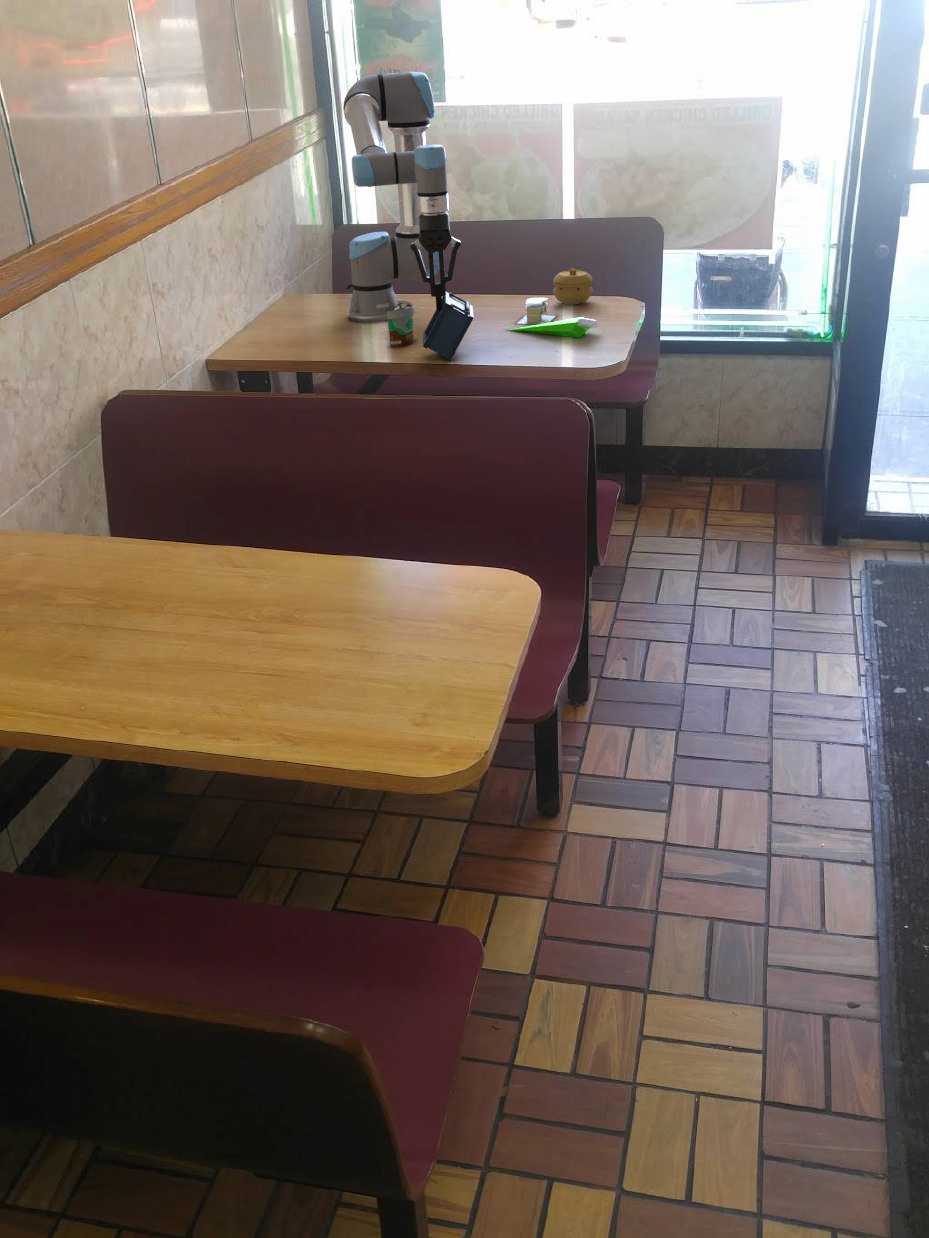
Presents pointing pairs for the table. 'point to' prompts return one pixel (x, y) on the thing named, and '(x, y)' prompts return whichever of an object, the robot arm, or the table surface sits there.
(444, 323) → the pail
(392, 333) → the food container
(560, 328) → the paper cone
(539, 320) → the stacked layers on plate
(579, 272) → the pot
